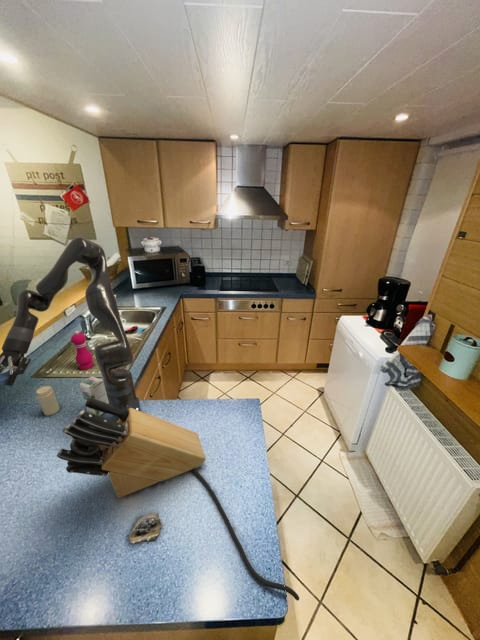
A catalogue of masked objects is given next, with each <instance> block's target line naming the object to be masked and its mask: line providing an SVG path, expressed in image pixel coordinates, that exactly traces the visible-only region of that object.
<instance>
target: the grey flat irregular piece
mask: <svg viewBox="0 0 480 640" xmlns="http://www.w3.org/2000/svg"><path fill="white" fill-rule="evenodd" d="M159 517H160V513H158V512H157V513H149V514H146V515H143V516H141V518H138V520H137V521H136V522H135V524H134V526H133V528H132V529H131V532H130V533H129V535H128V541H130V543H132V544H133V545H135V543H140V542H141V541H142V542H144V541H145V540H147V542H148V541H150V540H156V539H157V538H158V536H159V534H160V533H161V528H162V526H163V524H162V519H161V518H159Z"/></svg>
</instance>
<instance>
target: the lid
mask: <svg viewBox="0 0 480 640" xmlns="http://www.w3.org/2000/svg"><path fill="white" fill-rule="evenodd" d="M9 375H10V371H5V372H2V373H1V374H0V386H6V385H5V383H6V381H7V378H8V376H9Z"/></svg>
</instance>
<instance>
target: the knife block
mask: <svg viewBox="0 0 480 640" xmlns="http://www.w3.org/2000/svg"><path fill="white" fill-rule="evenodd" d="M84 406H85V407H86V408H87V407H88V408H91V409H94V410H98V411H101V412H104V413H103V414H108V415H111V416H112V415H115V416H118V417H119V418H120V419H119V420H118V421H117V422H115V421H114V420H112V419H111V418H107V417H105V416H102V415H101V416H98V415H94V414H90V413H88V411H87V410H84V409H82V410H81V411H80V412H79V413H78V414H77V415H76V417H75V418H74V420H73V421H72V422H71V423H68V424H67V425H65V426H64V427H63V429H62V433H64V434H65V435H68V436H69V437H71V438H72V440H71V442H70V444H69V448H70V449H65V448H60V450H59V451H58V452H57V453H56V457H57V458H59V459H60V460H63V461H66V464H67V466H65V467H66V468H65V471H66V472H67V473H69V474H71V473H73V474H74V473H75V474H82V475H88V476H99V477H106V476H108V475H109V479H110V482H111V485H112V487H113V490H114V492H115V495H116V498H117V499H120V498H123V497H125V496H127V495H130V494H133V493H136V492H139V491H140V490H143V489H145V488H148V487H150V486H153V485H155V484H157V483H159V482H164V481H166V480H169V479H172V478H174V477H177V476H179V475H182V474H184V473H187V472H190V471H191V470H192V469H195V470H196V469H197V468H199V467H201V466H202V465H203V463H205V461H206V459H207V458H206V455H205V451H204V449H203V446H202V442H201V440H200V437H199V433H198V432H196V431H193V430H190V429H189V428H185V427H183V426H180V425H178V424H176V423H172V422H170V421H168V420H164V419H162V418H159V417H157V416H154V415H151V414H149V413H146V412H144V411H142V410H141V411H138V410H136V409H133V408H129V409H128V410H126V409H125V410H124V411H122V410H119V409H117V408H116V407H114V406H112V405H110V404H107V403H105V402H102V401H99V400H96V399H92V398H89V399H88V400H87V401H86V404H85V403H84Z"/></svg>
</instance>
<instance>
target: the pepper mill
mask: <svg viewBox="0 0 480 640" xmlns="http://www.w3.org/2000/svg"><path fill="white" fill-rule="evenodd" d="M86 340H87V337H86V335H85V334H84V333H82V332H79V331H78V330H76V331H74V334H73V335H71V337H70V342H71V343H72V344H73V347H74V348H75V349H76V355H75V362H76V364H78V369H79V370H89V369H91V368H93V367H94V365H95V364H94V361H93V359H94V357H93V354H92V352H91V351H89V350H88V348H87V341H86Z"/></svg>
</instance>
